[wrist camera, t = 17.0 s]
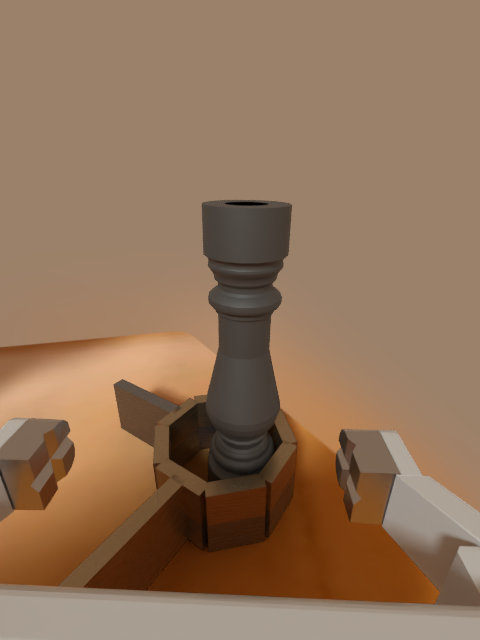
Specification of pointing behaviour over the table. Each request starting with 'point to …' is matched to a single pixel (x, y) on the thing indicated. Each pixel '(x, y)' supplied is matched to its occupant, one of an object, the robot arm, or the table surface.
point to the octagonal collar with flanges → (185, 494)
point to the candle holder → (243, 330)
